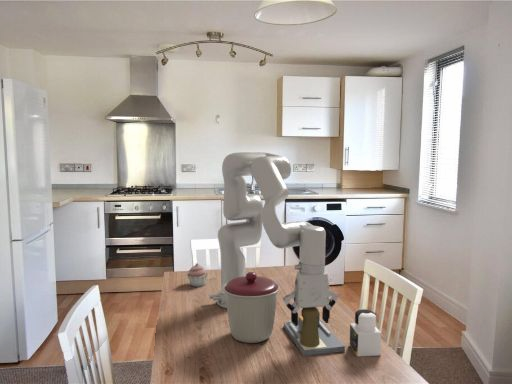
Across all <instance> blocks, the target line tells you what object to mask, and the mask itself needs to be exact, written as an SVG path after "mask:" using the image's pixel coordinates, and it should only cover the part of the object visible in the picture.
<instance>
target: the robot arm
mask: <svg viewBox="0 0 512 384" xmlns="http://www.w3.org/2000/svg"><path fill="white" fill-rule="evenodd" d="M221 173H222V177H223V203H222V206H223V207H222V209H223V211H222V212H223V213H222V214H223V216H224V218H225V219H226V220H227V221H231V222H232V221H240V222H232V223H226V224H223V225H222V226H221V227H219V229H218V231H217V240H218V245H219V251H220V287H221V288H220V290H219V292H216V293H209V295H208V296H209V297H208V299H209V300H213V301H216V303H217V305H218V306H219V307H221V308H224V309H227V304H226V295H225V292H224V290H223V286H224V284H226V283H227V282H229V281H230V280H232V279H235V278H238V277H244V276H246V257H245V254H244V253H243V252H242V251H241V248H243V247H248V246H254V245H256V244H258V243H259V242H260V241H261V238H262V233H263V229H264V231H265V233H266V235H267V237H268V239H269V241H270V242H271V244H272V245H273V246H274V247H275V248H277V249H281V250H282V249H287V248H293V247H299V260H298V264H294V269H295V270H296V271H297V272H296V275H295V278H294V279H295V281H294V284H293V285H294V286H293V291H292V292H290V293H288V294H287V295H285V296H283V297H282V300H283V303H284V305H285V306H286V307H287V308H288V310H290V311H291V313H290V320H291V321H292V322H293V323H294V325H295V326H297V325H298V318H299V313H298V311H299V309H303V308H310V307H316V308H320V307H322V314H321V315H322V316H321V318H322V319H321V320H322V321H323V322H324V324H329V320H330V317H331V315H330V312H331V310H332V308H333V307H334V306H335V305H336V301H338V299H339V294H338V293H337V292H334V291H332V290H331V289H330V282H329V276H328V272H327V271H326V269H325V268H326V266H325V265H326V243H327V242H326V239H327V238H326V236H327V234H326V233H327V232H326V230H325V227H322V226H317V225H313V224H311V223H310V222H307V221H304V220H298V221H291V222H290V221H289V222H282V223H281V221H280V219H279V218H278V215H277V214H278V213H277V211H276V207H277V206H279V205H280V204H282V203H283V202H284V201H285V200H286V199H287V198H288V197H289V194H290V190H289V188H288V186H287V184H286V182H285V181H284V180H286V179H288V178H290V176H291V173H292V167H291V163H290V161H289V160H288V159H287V158H286V157H284V156H283V155H280V154H275V153H269V152H256V151H255V152H244V151H242V152H241V151H240V152H232V153H229V154H227V155H226V156H225V158H224V159H223V161H222V166H221ZM246 176H251V177H253V179H254V181H255V183H256V185H257V188H258V189H259V192H260V194H261V196H262V198H263V199H264V205H263V201H262V199H261V198H260V197H259V196H258V195H256V194H250V193H249V194H247V189H248V186H247V182H246V180H245V178H244V177H246ZM243 220H245V221H243ZM330 296H331V297H330ZM292 299H293V303H292V304H291V302H290V301H291V300H292Z"/></svg>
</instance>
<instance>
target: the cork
mask: <svg viewBox="0 0 512 384" xmlns="http://www.w3.org/2000/svg"><path fill="white" fill-rule="evenodd" d="M318 311H319V308H318V307H310V308H301V311H300V312H301V313H300V314H301V316H302V317H303V323H302V329H301V336H300V344H301V345H303V346H305V347H316V346H318V345H319V344H320V341H319V332H318V324H317V318H318V316H319V313H320V311H319V312H318Z"/></svg>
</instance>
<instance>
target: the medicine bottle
mask: <svg viewBox="0 0 512 384" xmlns="http://www.w3.org/2000/svg"><path fill="white" fill-rule="evenodd" d="M354 314H355V315H354V322H351V323H350V325H349V346H350V348H351V349H352V351H353V353H354V354H355V355H356V357H359V358H360V357H376V356H377V357H378V356H381V355H382V354H381V352H382V351H381V350H382V332H381V331H380V329H378V327H377V314H376V313H375V312H374V311H372V310H369V309H366V308H365V309H364V308H363V309H358V310H357V311H356V312H355V313H354Z"/></svg>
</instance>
